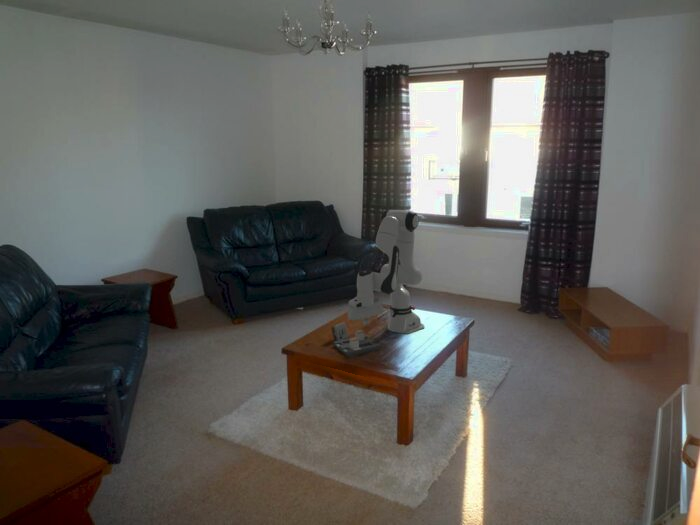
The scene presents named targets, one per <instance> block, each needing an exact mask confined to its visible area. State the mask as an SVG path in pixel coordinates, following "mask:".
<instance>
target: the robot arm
mask: <svg viewBox="0 0 700 525" xmlns="http://www.w3.org/2000/svg"><path fill="white" fill-rule="evenodd" d="M419 220H420V218H419V215H418V214H417V212H414V211H412V210H404V209H386V210H384V211H383V212H382V213H381V216H380V225H379V227H378V231H377V233H376V237H375V245H376V247H377V248H378V249H379V250H380V251H382V253H384V254H386V255H387V257H388V263H385V264H384V265H382V266H381V269H380V272H376V271H373V270H371V269H370V268H368V269H367V268H366V269H361V270H360V271H358V273H357V277H356V289H357V293H356V296H355V297H354V298H352V299H350V300H349V301H348V305H349V306H348V307H347V319H348V320H349V321H351V322H354V321H358V320H361V322H362V326H368V325H370V321H371V319H372V317H374V316H379V315H382V314H383V313H384V308H383V307H384V306H383V298H381V297H374V296H375V294H374V291H375V292H378V293H382V294H387V295H390V305H389V320H388V326H387V329H388V331H390V332H393V333H398V334H401V333H402V334H412V333H414V332H416V331H419V330H420V331H421V330H423V329H425V328H426V327H425V325H424V323H422V321H421V317H420V316H419V315H417V314H416V313H415V312H413V311H415V310H416V306H413V305H410V303H411V302H410V300H411V298H410V297H411V295H410V292H409V290H407V289H406V288H405V286H409V287H410V286H418V285H420V283H421V281H422V279H423V274H422V271H421V269H420V268H419V267H418V266H417V264H416V262H415V259H414V246H415V230H416V229H417V227H418V226H419ZM399 262H400V264H399ZM404 285H405V286H404Z"/></svg>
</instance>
